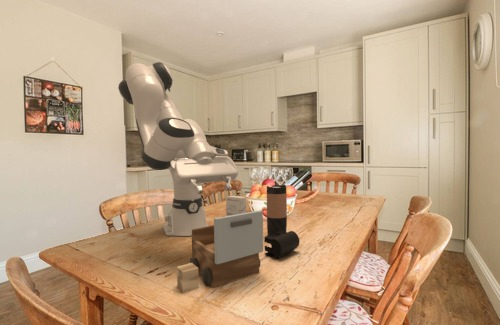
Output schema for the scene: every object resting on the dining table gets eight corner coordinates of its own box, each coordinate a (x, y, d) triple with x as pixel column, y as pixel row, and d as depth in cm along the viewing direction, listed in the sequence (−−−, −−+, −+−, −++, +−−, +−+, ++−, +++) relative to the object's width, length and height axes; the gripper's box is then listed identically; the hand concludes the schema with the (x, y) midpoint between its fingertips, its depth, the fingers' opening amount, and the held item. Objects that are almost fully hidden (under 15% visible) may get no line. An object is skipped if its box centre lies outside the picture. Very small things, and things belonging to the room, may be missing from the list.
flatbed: (189, 269, 77) (188, 229, 77) (236, 256, 86) (236, 220, 86) (210, 288, 66) (209, 242, 66) (261, 271, 75) (261, 230, 75)
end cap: (281, 261, 82) (281, 239, 82) (263, 255, 87) (263, 235, 87) (299, 252, 89) (299, 232, 89) (282, 247, 94) (282, 228, 94)
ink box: (225, 221, 130) (225, 196, 129) (232, 218, 134) (231, 195, 134) (240, 223, 125) (240, 198, 125) (246, 220, 130) (246, 196, 129)
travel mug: (286, 241, 99) (285, 187, 98) (265, 240, 101) (265, 187, 100) (287, 235, 107) (287, 185, 106) (268, 234, 108) (267, 184, 107)
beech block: (177, 286, 68) (176, 266, 68) (192, 281, 70) (191, 262, 70) (183, 292, 65) (182, 272, 64) (198, 287, 67) (198, 268, 67)
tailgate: (214, 262, 66) (213, 218, 65) (260, 250, 74) (260, 210, 73) (218, 265, 64) (217, 219, 64) (264, 252, 72) (264, 211, 72)
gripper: (170, 151, 80) (183, 187, 72) (230, 150, 91) (247, 181, 83) (166, 166, 84) (178, 202, 76) (224, 163, 95) (240, 194, 87)
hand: (215, 191), depth 80 cm, fingers open, 8 cm apart
